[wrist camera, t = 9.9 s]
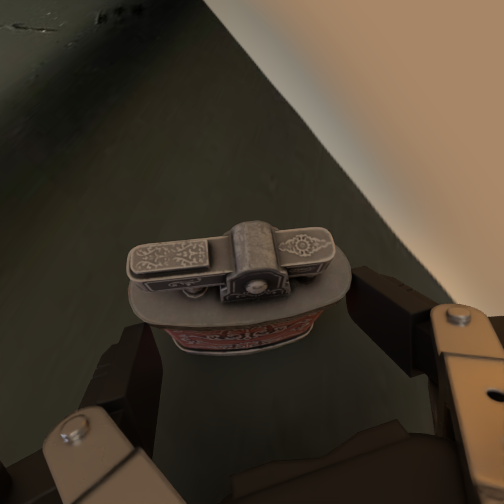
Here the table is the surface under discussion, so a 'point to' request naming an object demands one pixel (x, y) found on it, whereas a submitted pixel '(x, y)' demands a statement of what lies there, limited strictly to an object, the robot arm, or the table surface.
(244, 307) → the lighter
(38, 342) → the table surface
